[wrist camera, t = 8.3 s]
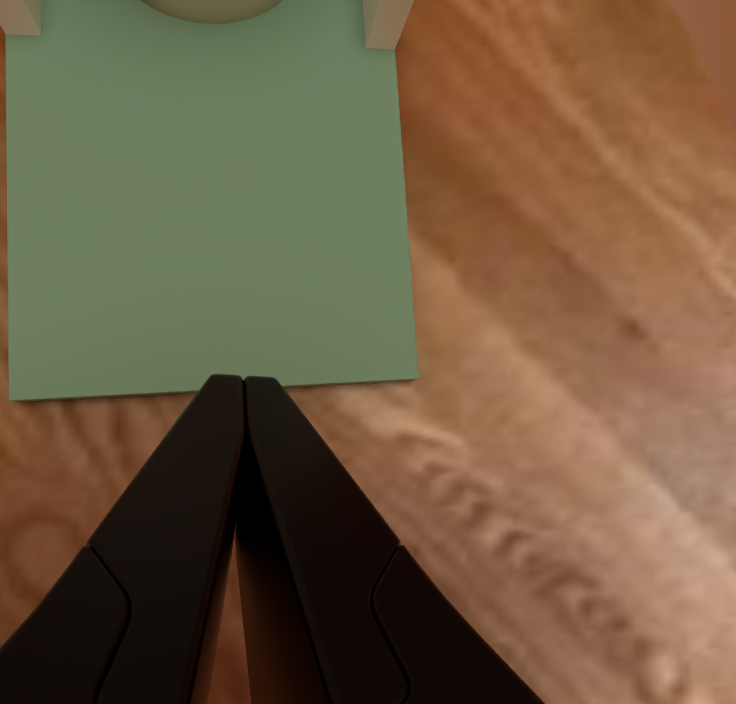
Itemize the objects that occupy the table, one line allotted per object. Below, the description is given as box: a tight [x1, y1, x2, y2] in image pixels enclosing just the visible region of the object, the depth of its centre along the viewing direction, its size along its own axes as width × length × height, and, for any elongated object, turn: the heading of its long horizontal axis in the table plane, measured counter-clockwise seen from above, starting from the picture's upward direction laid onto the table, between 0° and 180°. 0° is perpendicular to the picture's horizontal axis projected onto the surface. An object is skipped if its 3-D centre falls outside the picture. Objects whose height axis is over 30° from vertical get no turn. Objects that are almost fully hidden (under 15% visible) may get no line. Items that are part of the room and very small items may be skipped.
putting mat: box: [6, 0, 419, 402], centre depth 22 cm, size 22×12×1 cm, turn 4°
